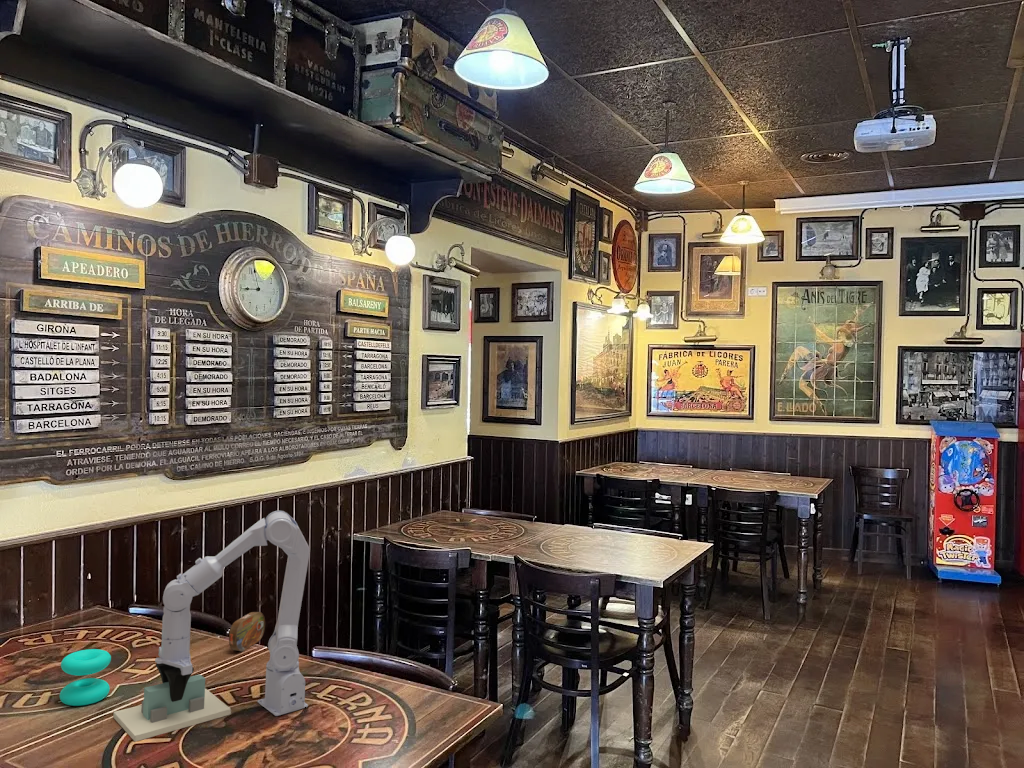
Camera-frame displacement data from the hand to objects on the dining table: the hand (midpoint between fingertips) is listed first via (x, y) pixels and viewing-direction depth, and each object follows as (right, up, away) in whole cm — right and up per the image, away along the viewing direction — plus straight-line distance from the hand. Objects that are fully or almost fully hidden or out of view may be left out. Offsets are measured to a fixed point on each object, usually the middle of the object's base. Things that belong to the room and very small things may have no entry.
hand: (173, 697), depth 164 cm
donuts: (-23, -3, +7) cm, 25 cm away
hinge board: (0, -4, 0) cm, 4 cm away
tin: (0, -4, +44) cm, 44 cm away
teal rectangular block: (0, -3, 0) cm, 3 cm away
